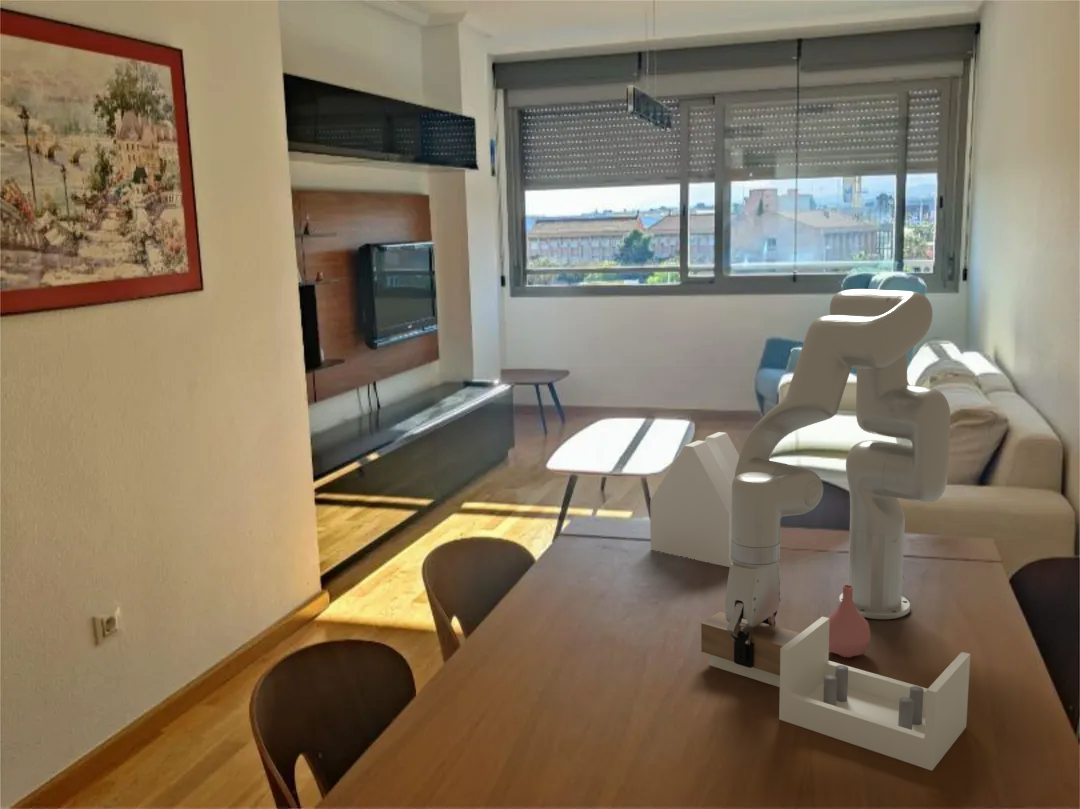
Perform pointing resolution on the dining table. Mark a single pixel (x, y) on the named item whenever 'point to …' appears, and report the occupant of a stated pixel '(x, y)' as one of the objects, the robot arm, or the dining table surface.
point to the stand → (871, 702)
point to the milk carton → (697, 502)
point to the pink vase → (848, 628)
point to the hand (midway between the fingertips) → (754, 656)
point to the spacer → (745, 670)
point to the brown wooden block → (763, 638)
